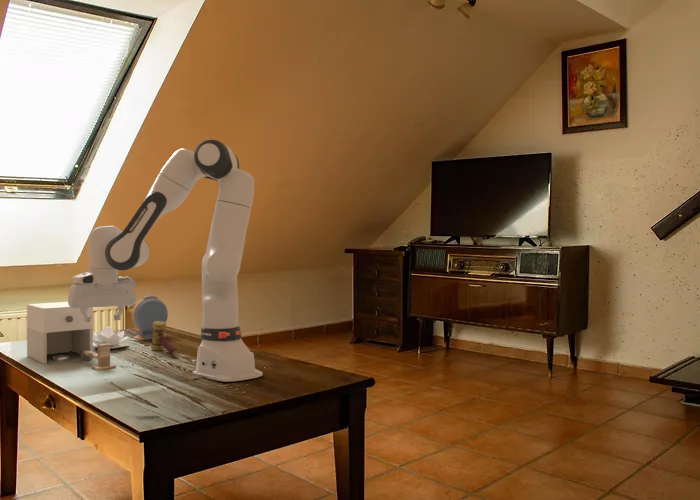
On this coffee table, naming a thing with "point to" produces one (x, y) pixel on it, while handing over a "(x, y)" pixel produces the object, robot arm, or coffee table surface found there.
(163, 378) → the coffee table surface
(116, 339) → the lotus flower
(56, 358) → the disc
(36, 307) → the cabinet
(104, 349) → the hook tool
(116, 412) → the coffee table surface
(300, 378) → the coffee table surface
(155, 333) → the gavel
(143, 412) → the coffee table surface
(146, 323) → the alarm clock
